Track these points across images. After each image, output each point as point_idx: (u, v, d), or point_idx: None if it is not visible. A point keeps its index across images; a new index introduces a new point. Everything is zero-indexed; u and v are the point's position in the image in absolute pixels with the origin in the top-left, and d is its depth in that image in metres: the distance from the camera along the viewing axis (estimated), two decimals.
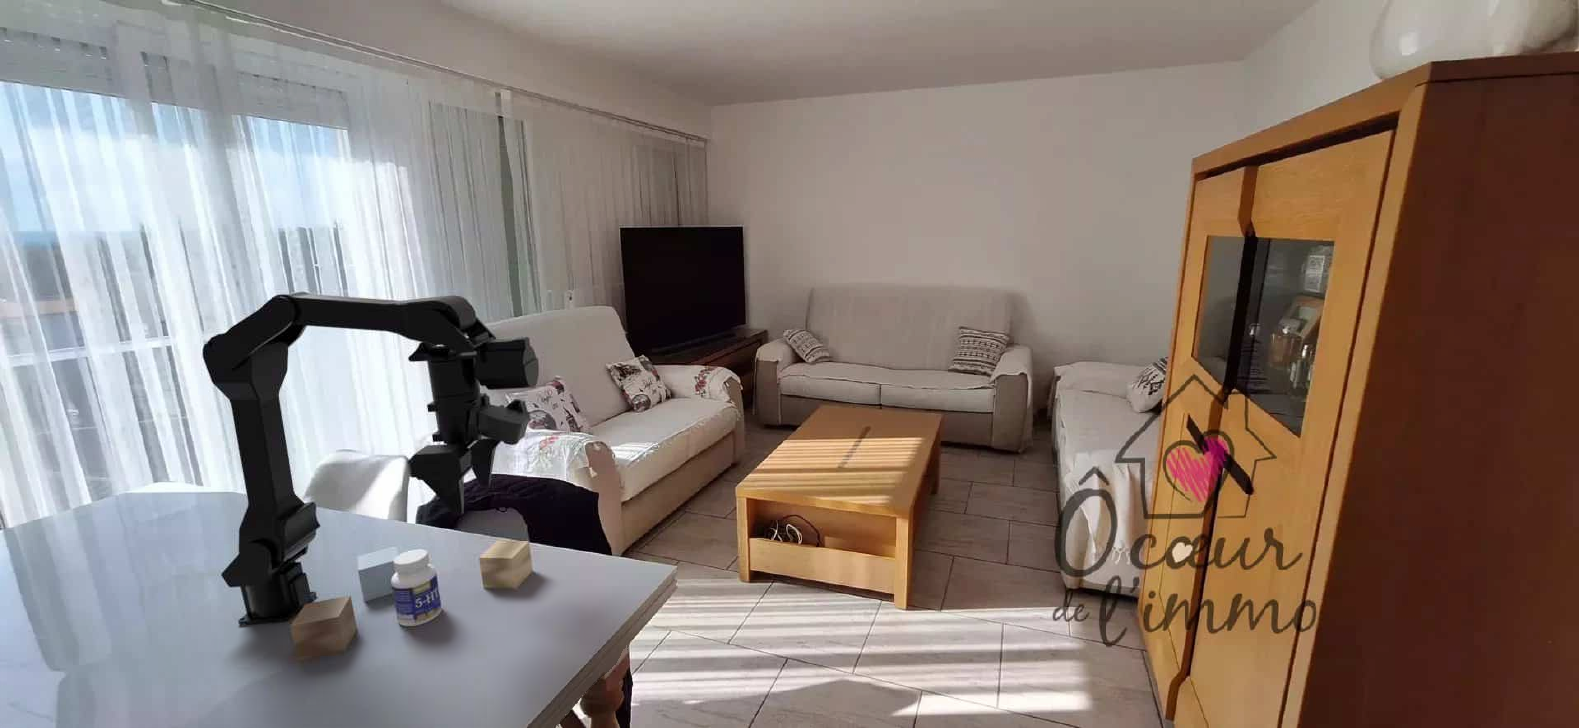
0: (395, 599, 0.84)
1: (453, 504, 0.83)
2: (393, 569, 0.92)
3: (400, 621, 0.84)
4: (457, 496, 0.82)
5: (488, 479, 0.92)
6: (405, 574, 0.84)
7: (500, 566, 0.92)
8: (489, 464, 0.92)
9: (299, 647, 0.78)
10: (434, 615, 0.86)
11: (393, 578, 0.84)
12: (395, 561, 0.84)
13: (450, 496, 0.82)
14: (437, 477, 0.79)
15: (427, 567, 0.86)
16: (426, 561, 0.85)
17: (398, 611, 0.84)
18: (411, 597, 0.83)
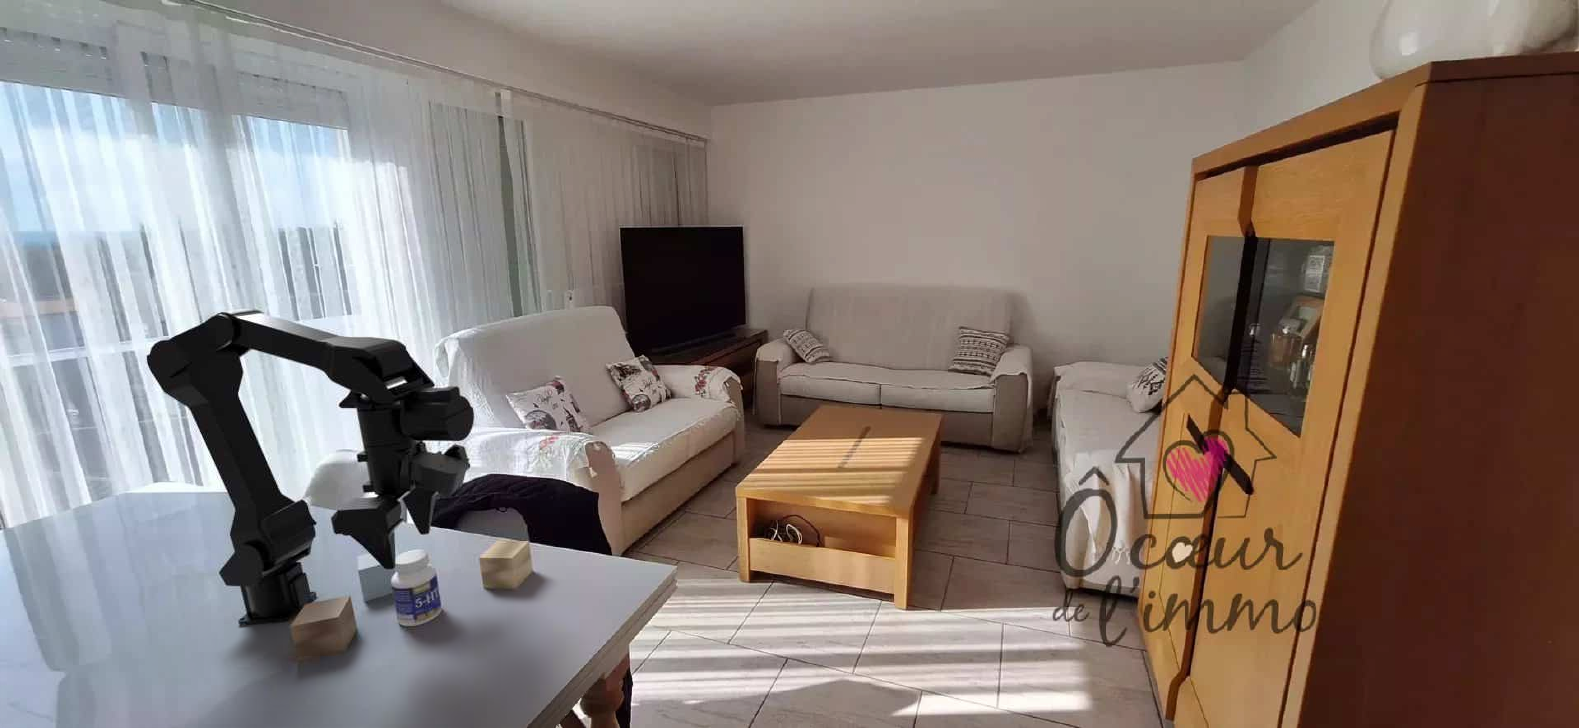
0: (395, 599, 0.84)
1: (383, 558, 0.79)
2: (393, 569, 0.92)
3: (400, 621, 0.84)
4: (387, 550, 0.79)
5: (427, 526, 0.89)
6: (405, 574, 0.84)
7: (500, 566, 0.92)
8: (428, 511, 0.89)
9: (299, 647, 0.78)
10: (434, 615, 0.86)
11: (393, 578, 0.84)
12: (395, 561, 0.84)
13: (380, 550, 0.79)
14: (363, 533, 0.75)
15: (427, 567, 0.86)
16: (426, 561, 0.85)
17: (398, 611, 0.84)
18: (411, 597, 0.83)
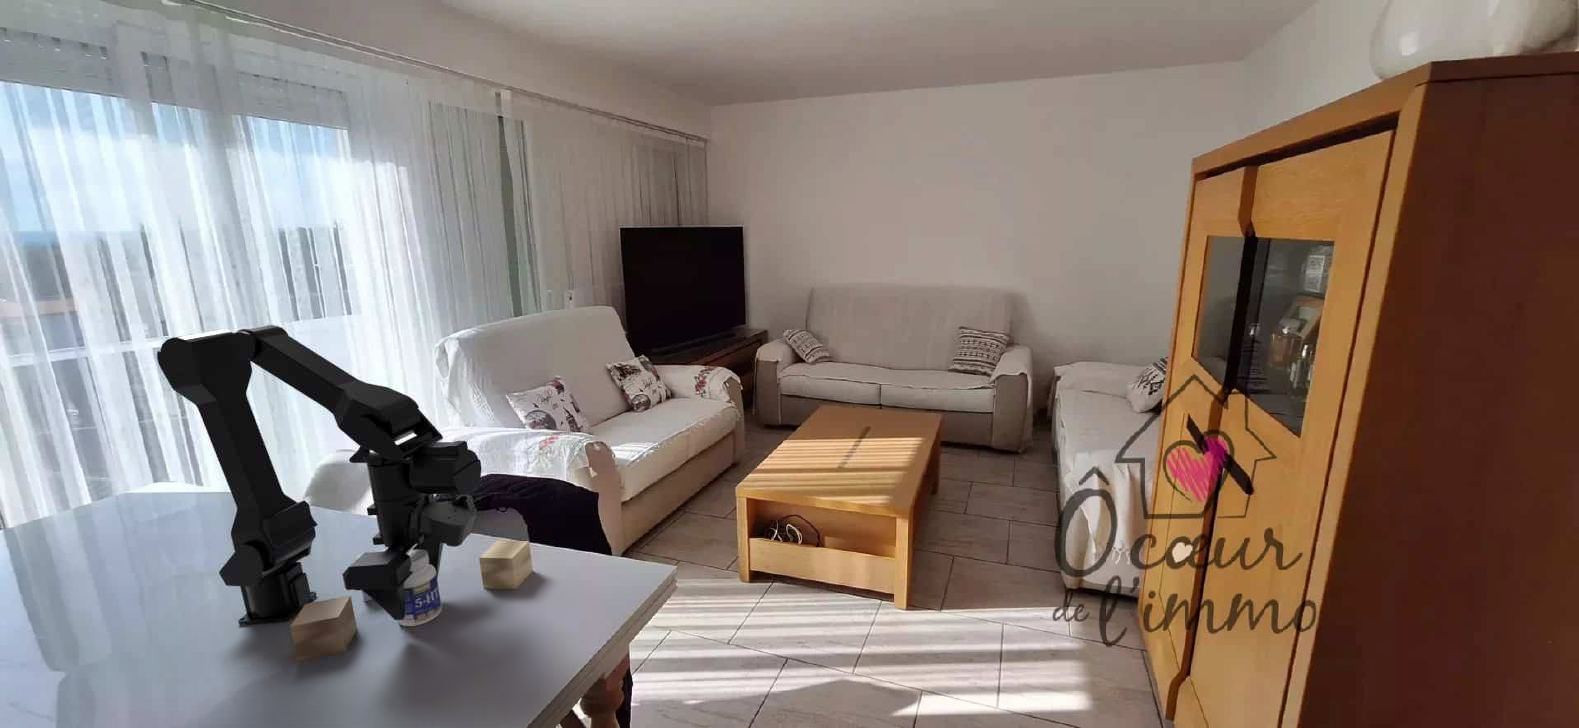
0: None
1: (393, 610, 0.81)
2: None
3: (400, 621, 0.84)
4: (397, 602, 0.80)
5: None
6: None
7: (500, 566, 0.92)
8: (436, 558, 0.90)
9: (299, 647, 0.78)
10: (434, 615, 0.86)
11: None
12: None
13: (390, 602, 0.80)
14: (374, 587, 0.77)
15: (427, 567, 0.86)
16: (426, 561, 0.85)
17: None
18: (411, 597, 0.83)
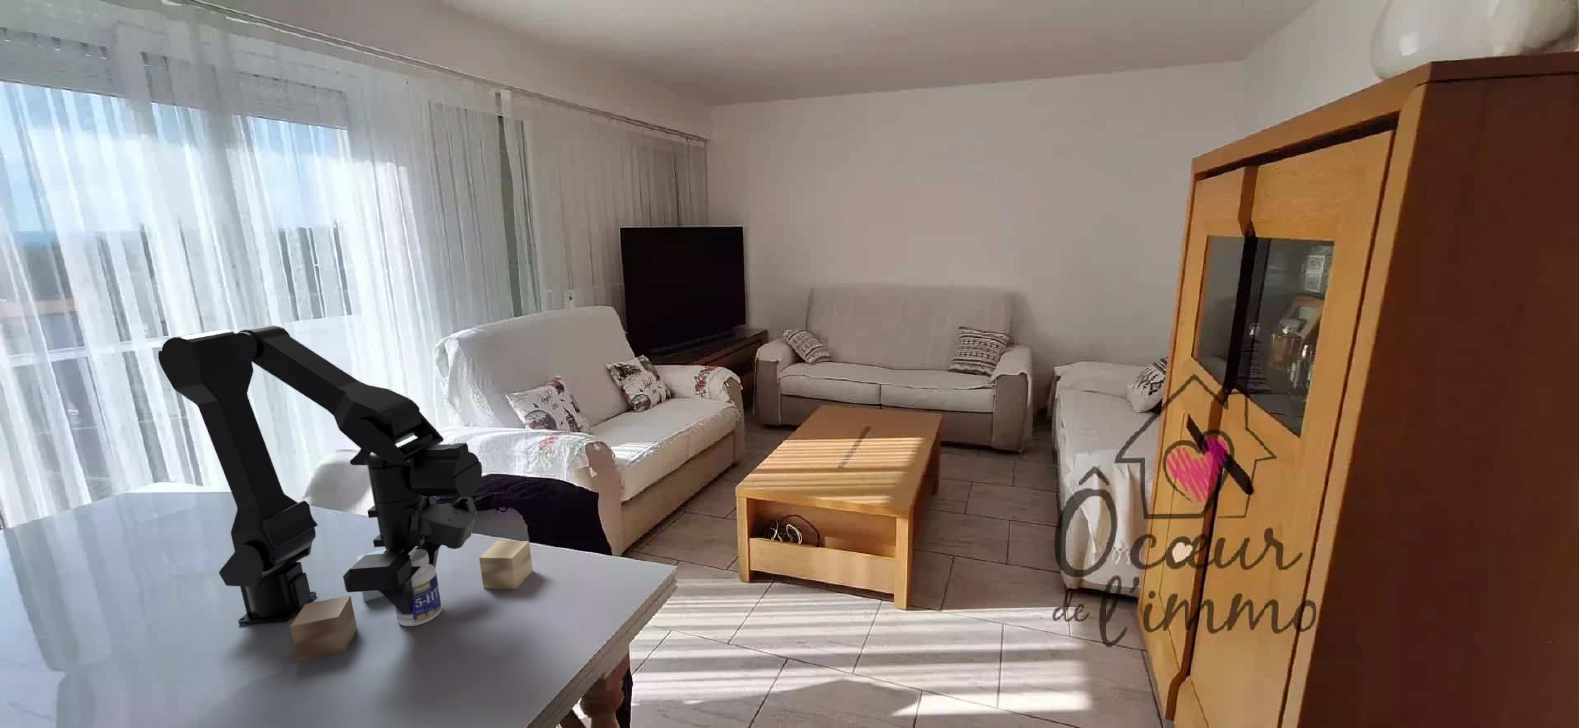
0: None
1: (401, 604, 0.83)
2: None
3: (400, 621, 0.84)
4: (405, 596, 0.82)
5: None
6: None
7: (501, 566, 0.92)
8: None
9: (299, 647, 0.78)
10: (434, 615, 0.86)
11: None
12: None
13: (398, 597, 0.82)
14: None
15: (427, 567, 0.86)
16: (426, 561, 0.85)
17: (398, 611, 0.84)
18: None
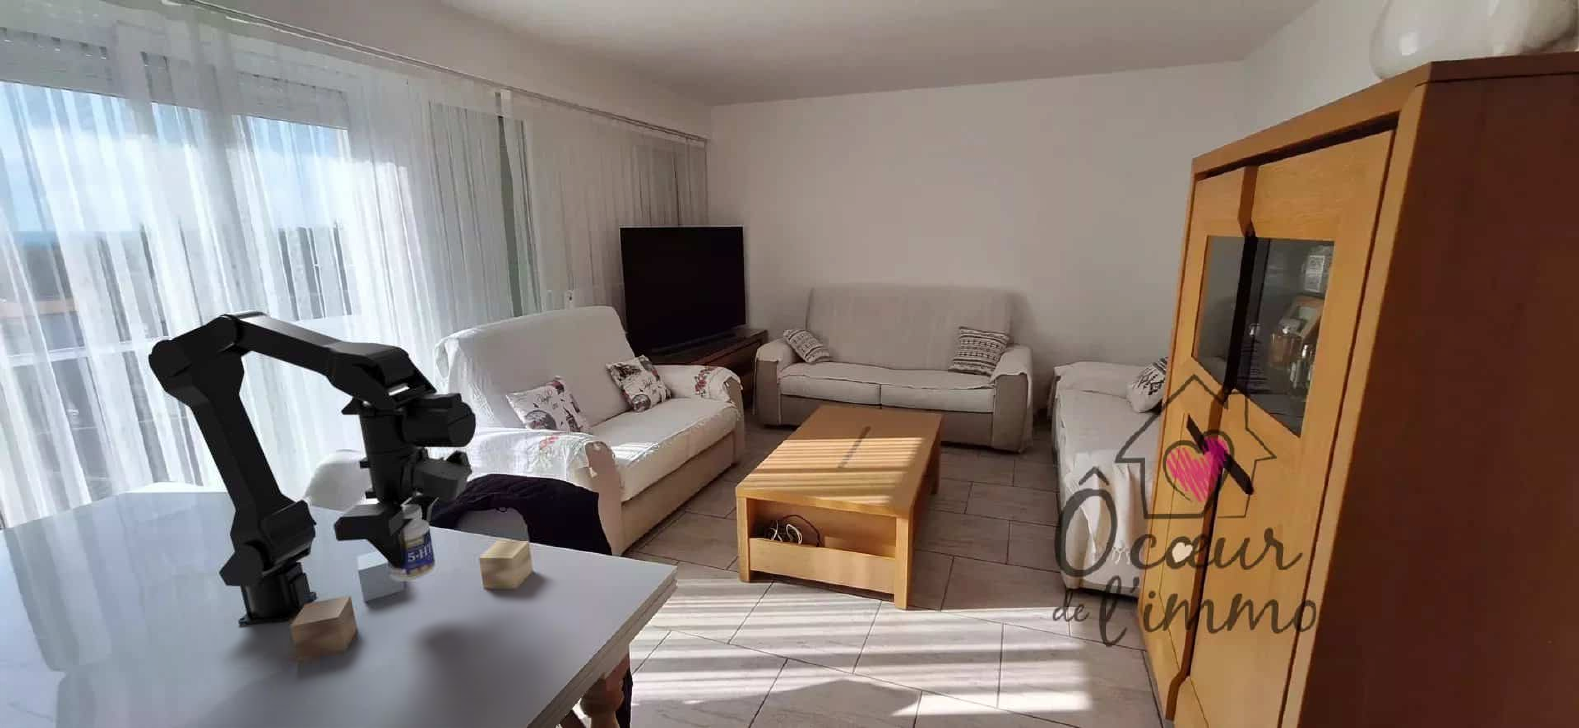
0: None
1: (393, 557, 0.81)
2: None
3: (393, 576, 0.83)
4: (397, 549, 0.80)
5: None
6: None
7: (500, 566, 0.92)
8: None
9: (299, 647, 0.78)
10: (427, 571, 0.84)
11: None
12: None
13: (390, 549, 0.80)
14: None
15: (420, 522, 0.84)
16: (419, 515, 0.84)
17: (391, 565, 0.83)
18: None
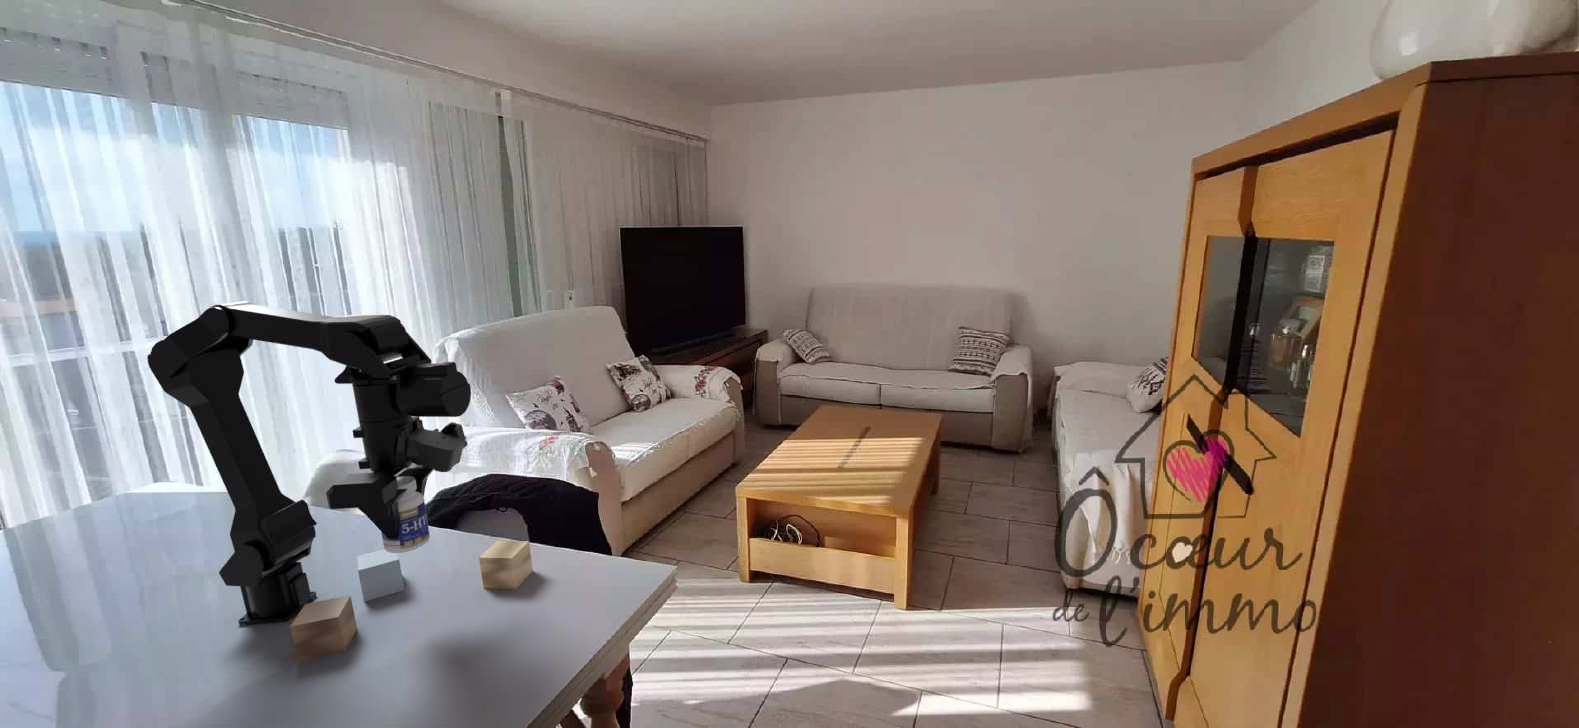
0: None
1: (387, 528, 0.80)
2: (393, 569, 0.92)
3: (387, 548, 0.82)
4: (391, 520, 0.80)
5: None
6: None
7: (500, 566, 0.92)
8: None
9: (299, 647, 0.78)
10: (422, 543, 0.84)
11: None
12: None
13: (384, 520, 0.80)
14: None
15: (415, 493, 0.83)
16: (413, 487, 0.83)
17: (385, 537, 0.82)
18: None
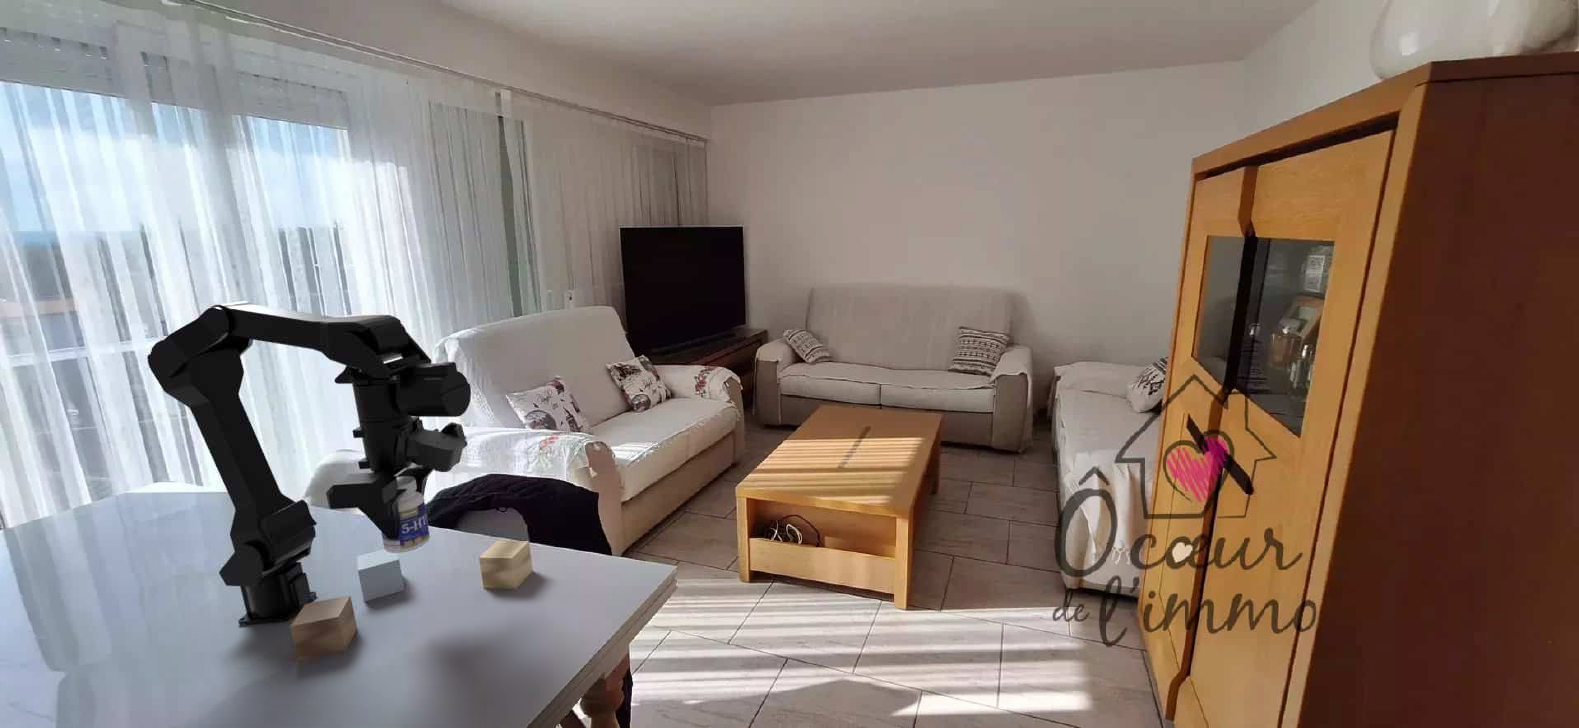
0: None
1: (387, 528, 0.80)
2: (393, 569, 0.92)
3: (387, 548, 0.82)
4: (391, 520, 0.80)
5: None
6: None
7: (500, 566, 0.92)
8: None
9: (299, 647, 0.78)
10: (422, 543, 0.84)
11: None
12: None
13: (384, 520, 0.80)
14: None
15: (415, 493, 0.83)
16: (413, 487, 0.83)
17: (385, 537, 0.82)
18: None
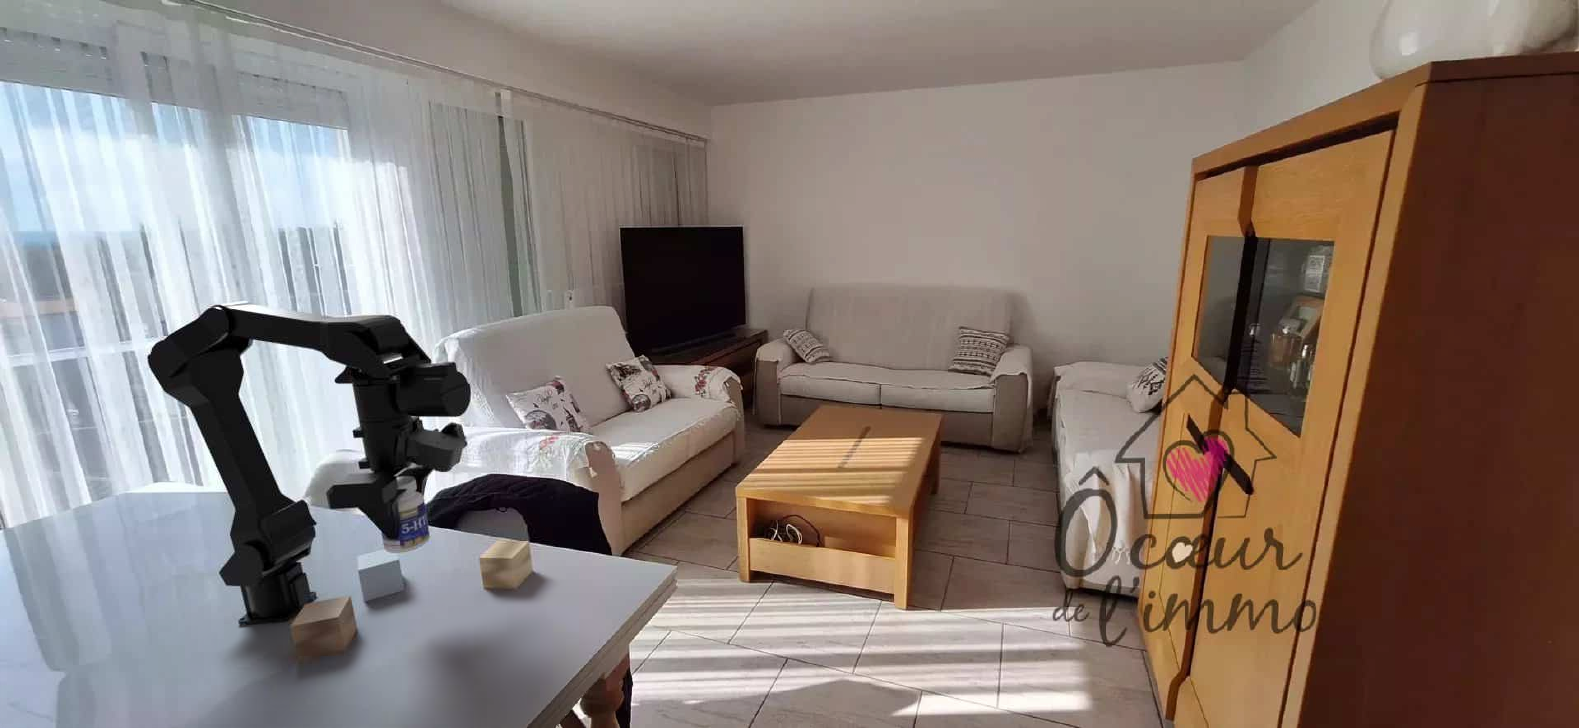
0: None
1: (387, 528, 0.80)
2: (393, 569, 0.92)
3: (387, 548, 0.82)
4: (391, 520, 0.80)
5: None
6: None
7: (500, 566, 0.92)
8: None
9: (299, 647, 0.78)
10: (422, 543, 0.84)
11: None
12: None
13: (384, 520, 0.80)
14: None
15: (415, 493, 0.83)
16: (413, 487, 0.83)
17: (385, 537, 0.82)
18: None
